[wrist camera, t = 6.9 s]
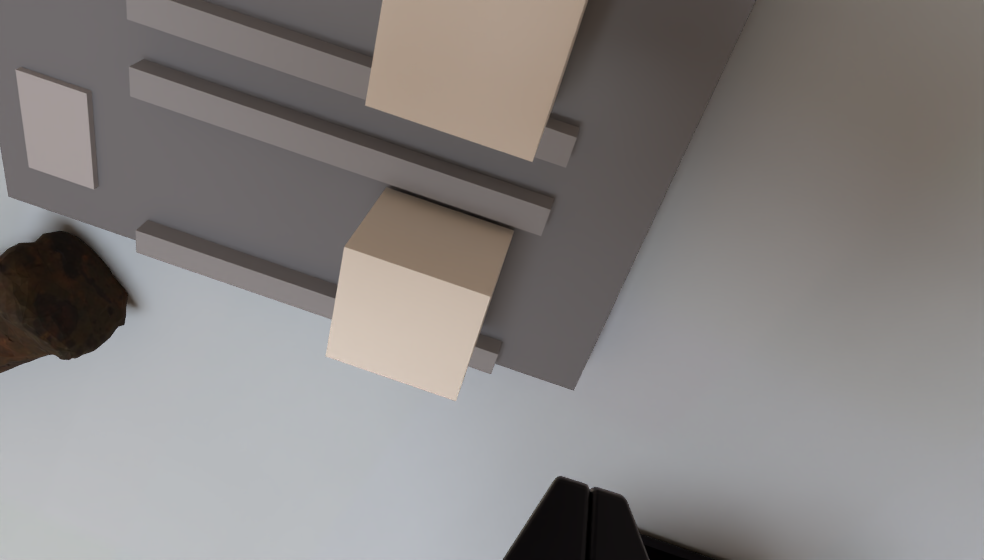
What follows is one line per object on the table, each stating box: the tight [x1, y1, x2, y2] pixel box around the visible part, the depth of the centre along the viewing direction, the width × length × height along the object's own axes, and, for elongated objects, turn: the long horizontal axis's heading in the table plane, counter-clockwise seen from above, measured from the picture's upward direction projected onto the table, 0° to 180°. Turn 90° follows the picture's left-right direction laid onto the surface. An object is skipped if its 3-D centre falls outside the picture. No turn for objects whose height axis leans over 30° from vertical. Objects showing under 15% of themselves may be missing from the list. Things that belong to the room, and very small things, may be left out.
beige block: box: [365, 0, 588, 162], centre depth 15 cm, size 4×4×3 cm
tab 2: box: [326, 187, 514, 401], centre depth 19 cm, size 4×4×3 cm
